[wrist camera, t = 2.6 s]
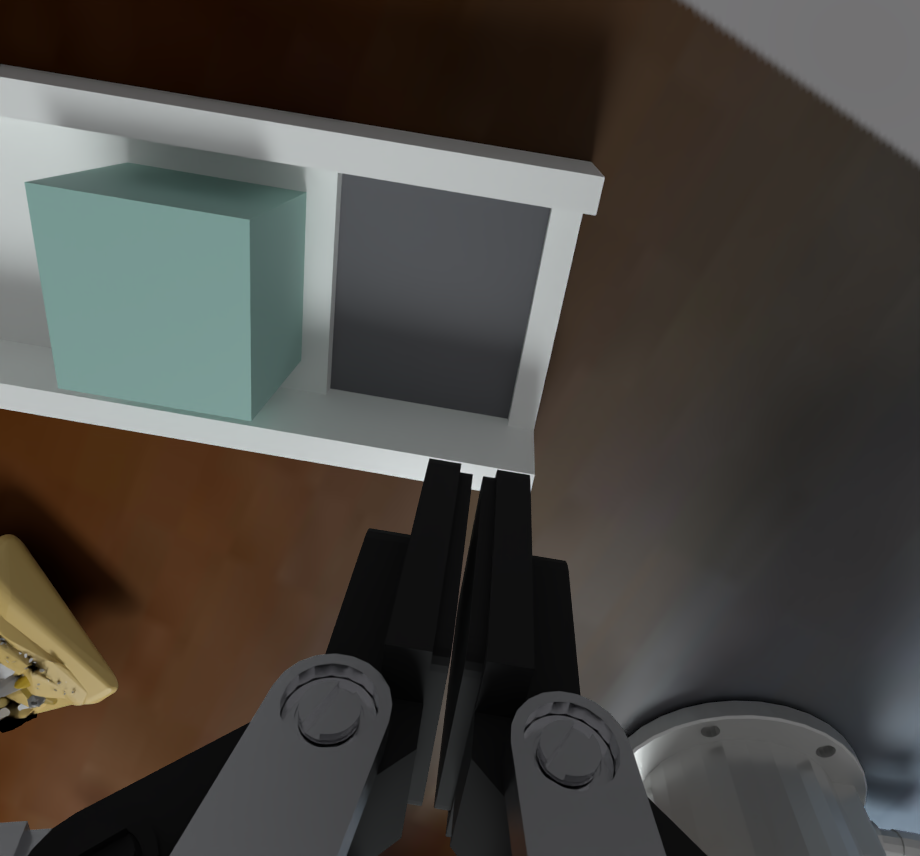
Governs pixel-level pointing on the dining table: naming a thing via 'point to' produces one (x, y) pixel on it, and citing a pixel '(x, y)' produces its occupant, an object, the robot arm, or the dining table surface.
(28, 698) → the figurine with sign
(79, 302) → the green block
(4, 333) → the trough
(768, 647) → the dining table surface
